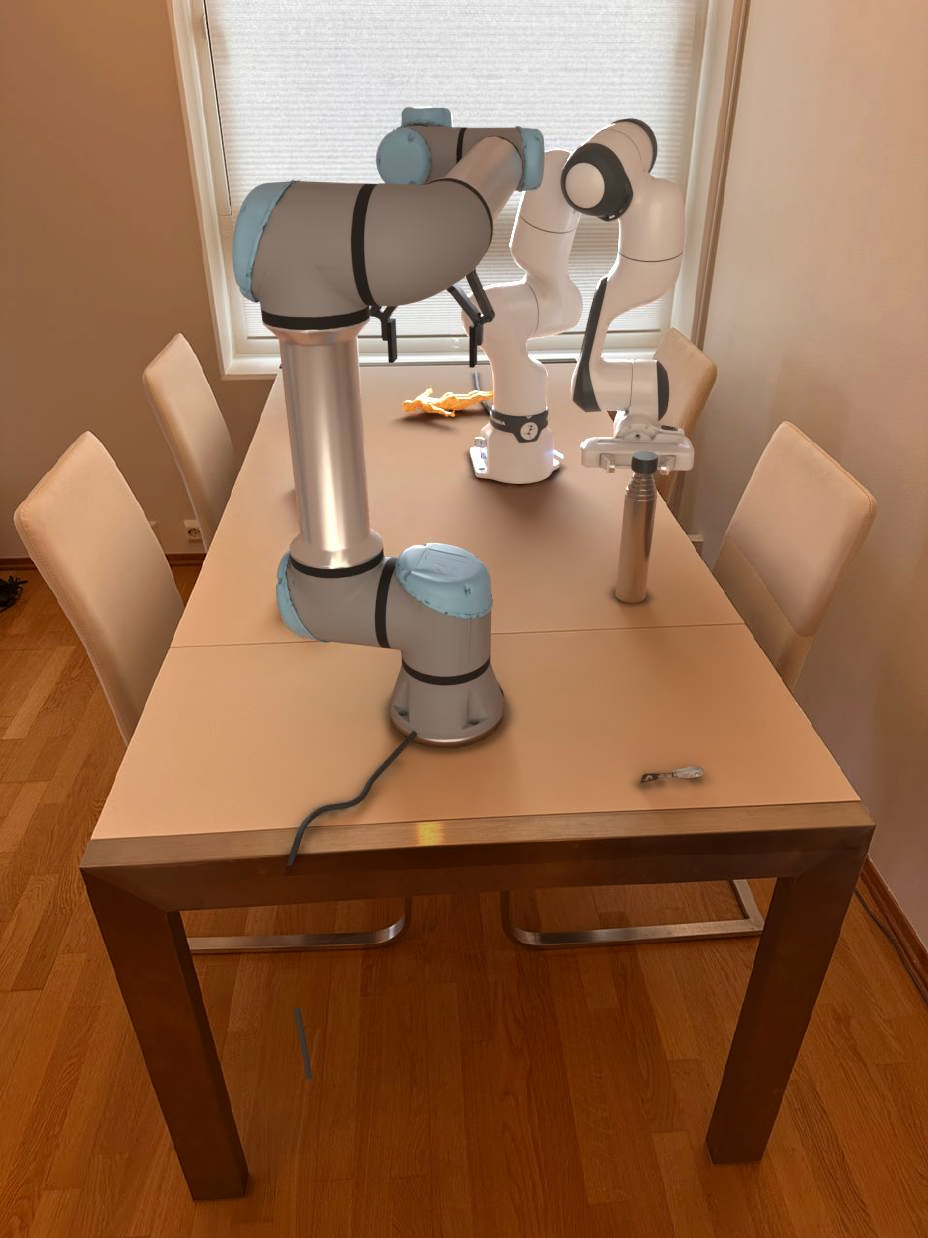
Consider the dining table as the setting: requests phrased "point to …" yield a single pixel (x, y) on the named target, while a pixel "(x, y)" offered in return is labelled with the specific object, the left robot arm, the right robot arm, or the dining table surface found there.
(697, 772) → the putty knife
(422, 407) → the human figure
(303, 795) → the dining table surface
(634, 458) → the cap
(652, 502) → the bottle
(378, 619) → the left robot arm
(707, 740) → the dining table surface
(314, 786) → the dining table surface
